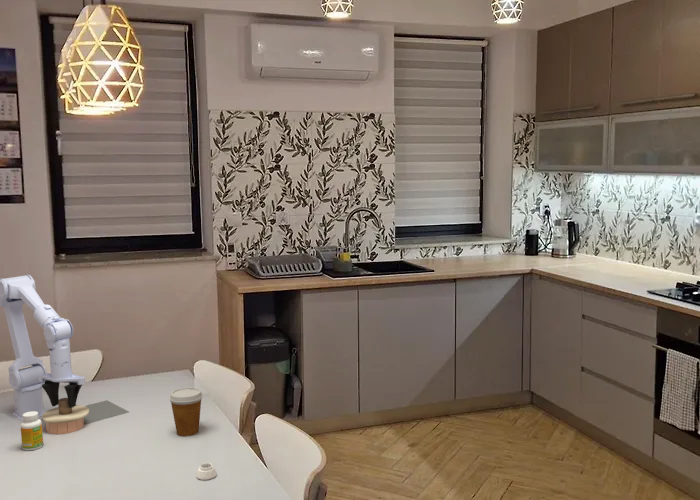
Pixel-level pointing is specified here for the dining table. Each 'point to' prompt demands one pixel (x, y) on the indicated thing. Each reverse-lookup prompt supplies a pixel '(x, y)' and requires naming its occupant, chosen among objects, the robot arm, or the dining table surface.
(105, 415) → the mat
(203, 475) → the white tapered round cap
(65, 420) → the lid
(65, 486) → the dining table surface
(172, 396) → the disposable coffee cup
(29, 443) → the supplement bottle
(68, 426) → the bowl
